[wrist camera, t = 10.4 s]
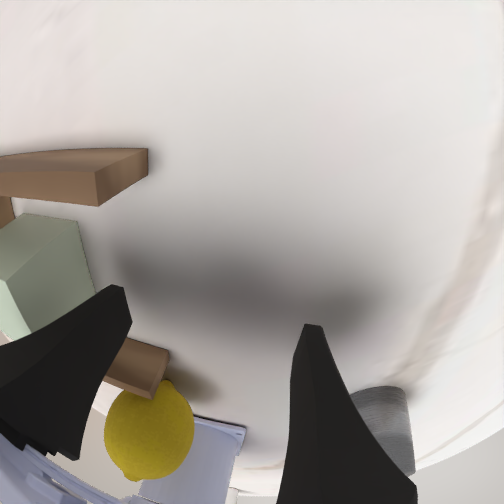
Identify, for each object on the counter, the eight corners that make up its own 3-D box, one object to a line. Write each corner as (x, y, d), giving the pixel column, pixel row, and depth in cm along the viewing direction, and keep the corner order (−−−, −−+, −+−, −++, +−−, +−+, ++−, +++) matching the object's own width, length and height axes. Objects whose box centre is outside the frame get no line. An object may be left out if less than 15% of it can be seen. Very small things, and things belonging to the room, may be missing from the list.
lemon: (205, 370, 15) (167, 492, 8) (207, 407, 18) (181, 499, 11) (124, 347, 15) (71, 449, 8) (141, 387, 18) (105, 470, 11)
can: (384, 417, 16) (388, 484, 11) (325, 417, 16) (322, 490, 11) (417, 385, 13) (431, 465, 8) (352, 385, 14) (355, 477, 9)
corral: (169, 359, 15) (152, 400, 12) (41, 310, 16) (20, 336, 13) (147, 148, 8) (94, 172, 6) (-4, 157, 9) (-40, 175, 7)
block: (99, 300, 13) (52, 364, 9) (45, 281, 14) (1, 331, 10) (78, 220, 11) (5, 281, 6) (24, 212, 11) (-36, 258, 7)
